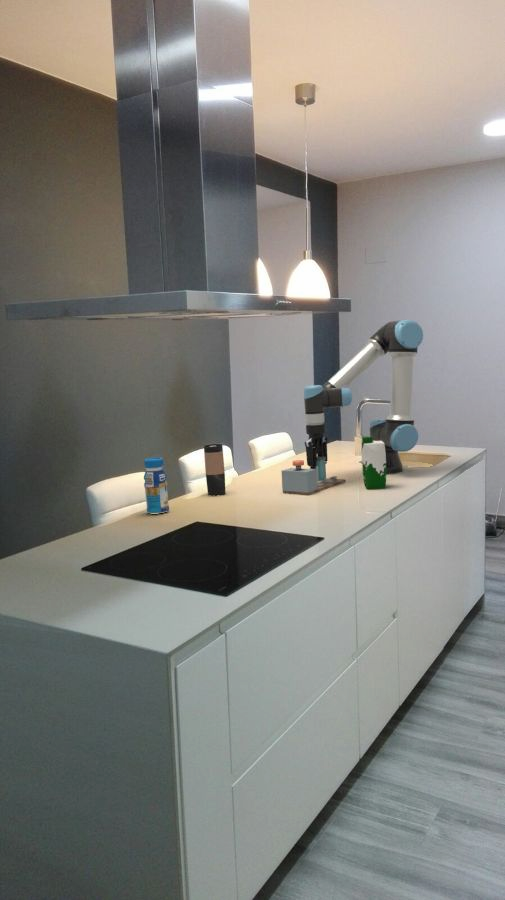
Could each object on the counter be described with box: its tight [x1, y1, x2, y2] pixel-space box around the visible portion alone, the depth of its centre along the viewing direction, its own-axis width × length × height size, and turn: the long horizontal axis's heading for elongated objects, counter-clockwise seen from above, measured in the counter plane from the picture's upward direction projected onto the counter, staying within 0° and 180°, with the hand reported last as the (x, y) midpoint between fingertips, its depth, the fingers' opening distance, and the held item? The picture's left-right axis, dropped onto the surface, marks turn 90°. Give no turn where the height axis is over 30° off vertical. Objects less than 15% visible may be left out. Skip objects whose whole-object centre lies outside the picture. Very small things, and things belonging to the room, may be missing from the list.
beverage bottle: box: [143, 457, 170, 514], centre depth 262 cm, size 8×8×20 cm
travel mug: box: [203, 443, 226, 497], centre depth 289 cm, size 8×8×20 cm
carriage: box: [309, 456, 327, 481], centre depth 292 cm, size 4×5×11 cm
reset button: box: [292, 459, 305, 471], centre depth 281 cm, size 4×4×4 cm
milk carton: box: [361, 436, 387, 491], centre depth 281 cm, size 9×9×20 cm
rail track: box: [282, 475, 347, 496], centre depth 290 cm, size 28×12×3 cm, turn 142°
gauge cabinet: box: [281, 467, 317, 493], centre depth 282 cm, size 6×12×8 cm, turn 52°
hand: (318, 480), depth 293 cm, fingers closed on carriage, 4 cm apart
